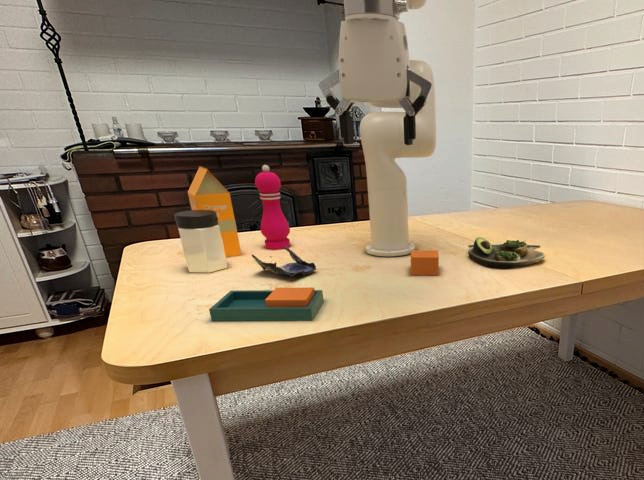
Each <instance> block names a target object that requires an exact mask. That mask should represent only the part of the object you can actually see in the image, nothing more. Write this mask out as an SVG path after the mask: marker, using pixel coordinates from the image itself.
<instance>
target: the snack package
mask: <svg viewBox="0 0 644 480" xmlns="http://www.w3.org/2000/svg"><path fill="white" fill-rule="evenodd" d="M280 248H281V247H280ZM283 249H284V251H286V252H288V253H289V256H290V258H291V259H292V260H293V261H294V262H287V263H286V264H283V265H280V266H277V262H274V263H272V262H273V261H272V260H271V261H270V262H264V261H262V260H261V259H259V258H258V257H257V256H256V255H255V254H253V253H252V254H251V257H252V258H253V260H254V262H255V263H256V264H257V265H259V266H260V267H261V269H262V270H263V271H264V272H265V271H266V270H268V271H270V272H272V273H274V274H276V275H287V276H289V277H290V278H292V277H294V276H295V275H297V274H301V275H302V276H303V277H306V276H307V275H310V274H312V273H313V272H314V271H316V270H317V267H316V266H317V265H316V264H315V263H314V262H307V261H305V260H303V259H302V258H301V257H300V256H299V255H297V254H296V253H295V252H294V251H293V250H291V249H290V248H289V247H286V246H285V247H284V248H283ZM269 258H273V257H272V256H271V255H269ZM290 281H293V279H291V280H290Z"/></svg>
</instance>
